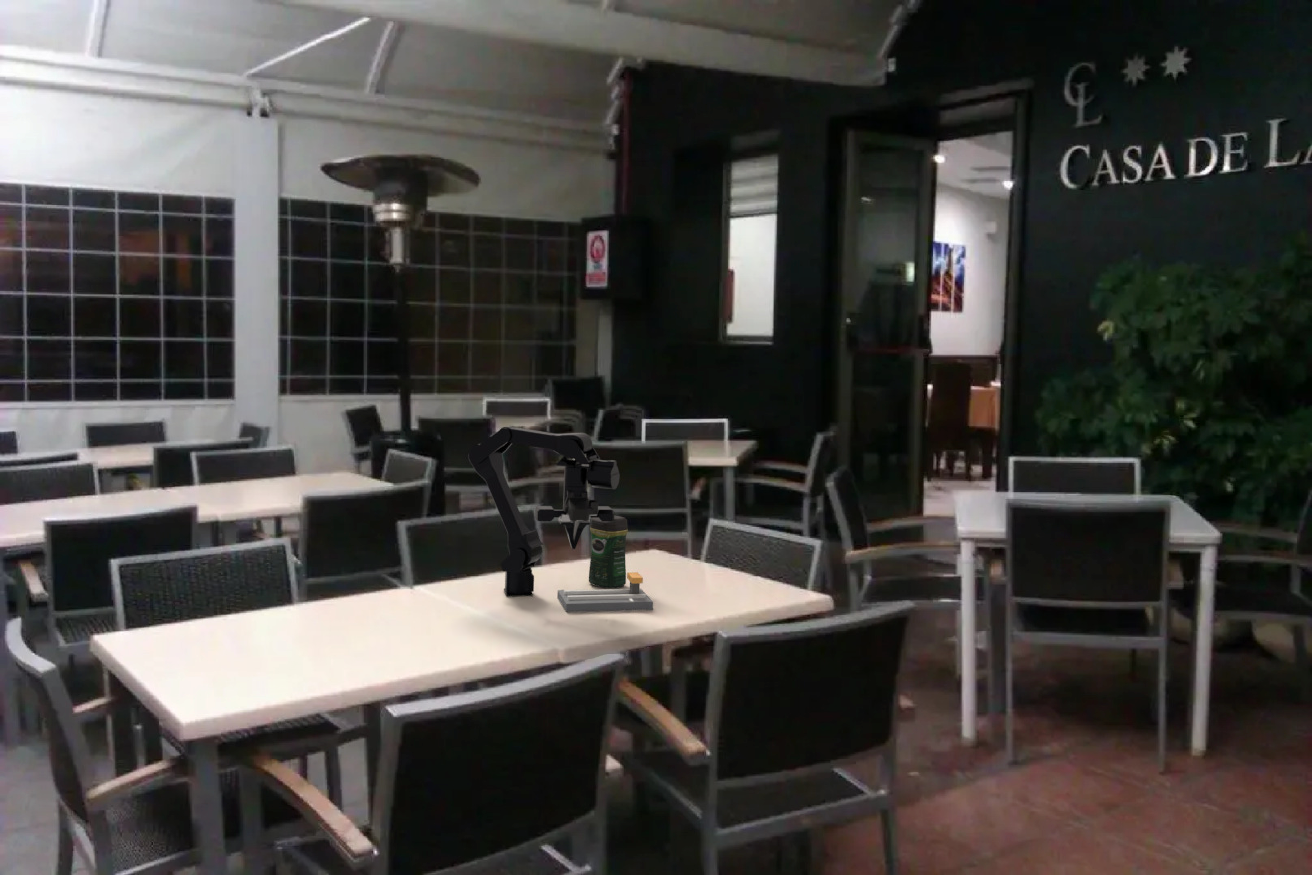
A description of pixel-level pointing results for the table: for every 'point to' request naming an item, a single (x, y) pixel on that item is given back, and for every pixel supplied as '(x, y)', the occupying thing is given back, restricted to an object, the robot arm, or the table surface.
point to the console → (603, 600)
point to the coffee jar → (608, 552)
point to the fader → (634, 582)
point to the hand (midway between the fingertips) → (573, 548)
